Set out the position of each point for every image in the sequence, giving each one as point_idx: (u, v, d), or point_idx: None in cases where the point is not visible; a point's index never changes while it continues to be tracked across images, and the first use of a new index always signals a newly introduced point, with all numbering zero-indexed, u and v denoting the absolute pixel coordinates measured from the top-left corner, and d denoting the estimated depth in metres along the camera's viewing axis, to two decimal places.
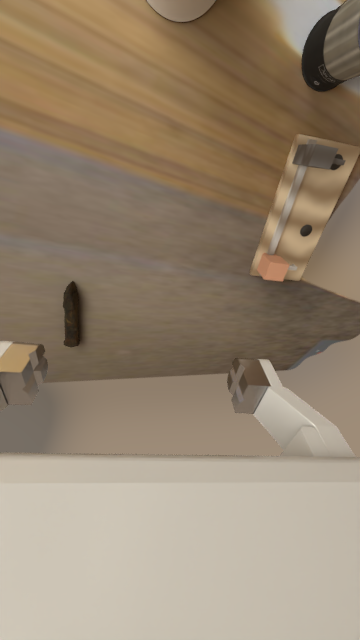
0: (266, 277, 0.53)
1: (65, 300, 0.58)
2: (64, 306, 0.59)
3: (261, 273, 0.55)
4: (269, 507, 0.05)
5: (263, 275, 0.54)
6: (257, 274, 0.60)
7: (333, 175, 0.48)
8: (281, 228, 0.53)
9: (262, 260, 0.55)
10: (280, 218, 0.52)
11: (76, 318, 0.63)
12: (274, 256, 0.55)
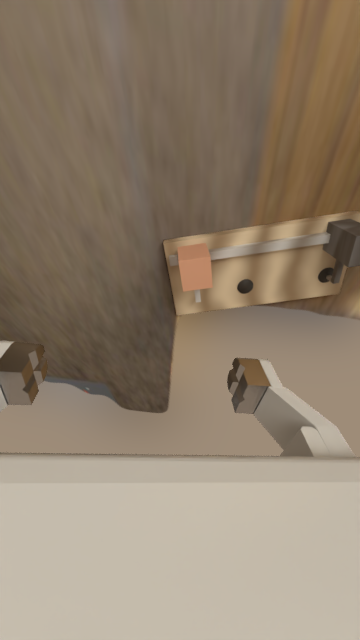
0: (182, 263, 0.30)
1: None
2: None
3: (181, 254, 0.32)
4: (269, 507, 0.05)
5: (182, 257, 0.31)
6: (167, 253, 0.36)
7: (311, 281, 0.40)
8: (247, 251, 0.35)
9: (198, 246, 0.33)
10: (259, 243, 0.35)
11: None
12: None
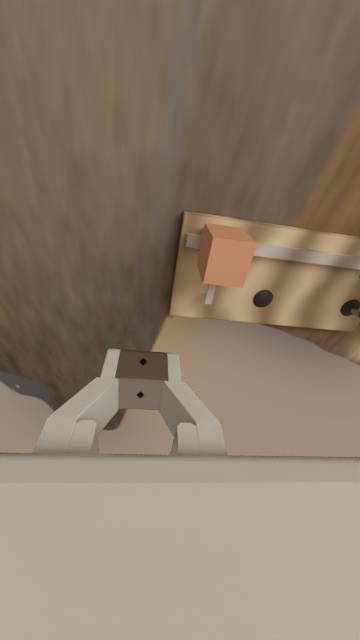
0: (218, 242, 0.21)
1: None
2: None
3: (213, 231, 0.23)
4: (269, 507, 0.05)
5: (217, 235, 0.21)
6: (185, 229, 0.26)
7: (333, 310, 0.34)
8: (284, 255, 0.28)
9: (234, 229, 0.24)
10: (299, 249, 0.28)
11: None
12: None
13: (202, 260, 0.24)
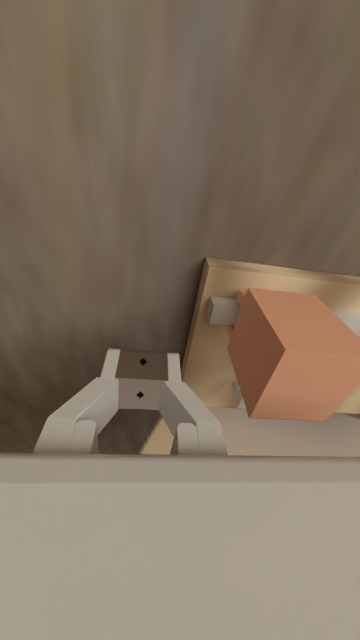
0: (294, 358, 0.09)
1: None
2: None
3: (275, 318, 0.11)
4: (269, 507, 0.05)
5: (288, 336, 0.10)
6: (209, 291, 0.15)
7: None
8: None
9: (306, 303, 0.13)
10: None
11: None
12: None
13: (244, 362, 0.13)
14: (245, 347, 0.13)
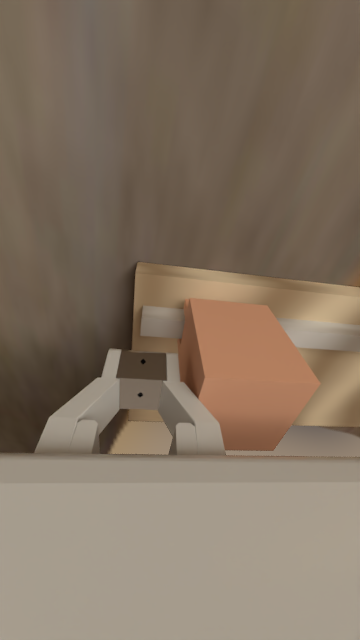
0: (217, 386, 0.08)
1: None
2: None
3: (207, 335, 0.09)
4: (269, 507, 0.05)
5: (215, 358, 0.08)
6: (140, 299, 0.13)
7: None
8: (333, 343, 0.14)
9: (252, 315, 0.11)
10: None
11: None
12: None
13: None
14: (185, 366, 0.11)
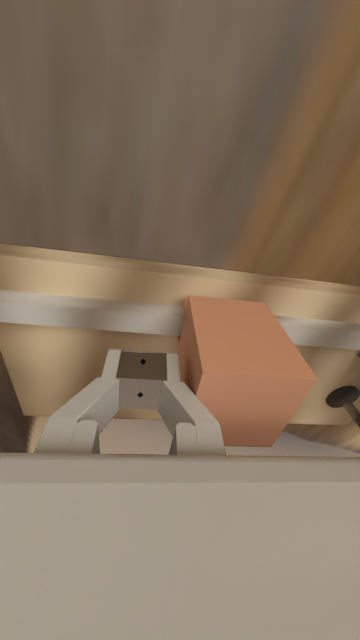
0: (215, 381, 0.08)
1: None
2: None
3: (206, 332, 0.09)
4: (269, 507, 0.05)
5: (213, 354, 0.08)
6: None
7: (313, 401, 0.20)
8: None
9: (251, 312, 0.11)
10: None
11: None
12: None
13: (182, 379, 0.11)
14: (183, 362, 0.11)
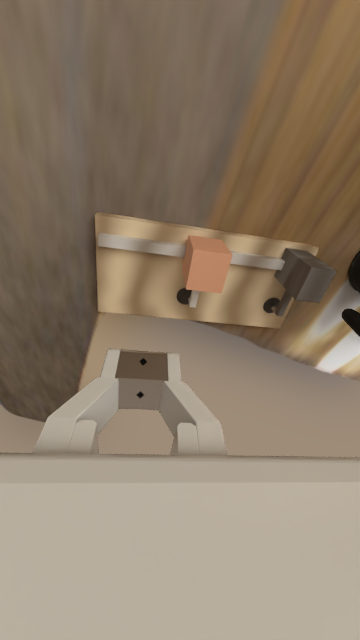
0: (197, 253, 0.24)
1: None
2: None
3: (195, 243, 0.25)
4: (269, 507, 0.05)
5: (197, 247, 0.24)
6: (98, 229, 0.28)
7: (256, 308, 0.36)
8: None
9: (214, 241, 0.27)
10: None
11: None
12: None
13: (186, 268, 0.27)
14: (186, 262, 0.27)
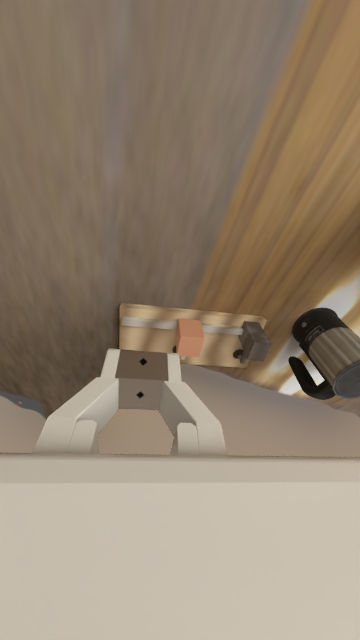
0: (183, 338, 0.40)
1: None
2: None
3: (182, 328, 0.41)
4: (269, 507, 0.05)
5: (183, 332, 0.40)
6: (121, 314, 0.44)
7: (228, 355, 0.52)
8: None
9: (194, 323, 0.43)
10: None
11: None
12: None
13: (177, 340, 0.43)
14: (177, 336, 0.43)
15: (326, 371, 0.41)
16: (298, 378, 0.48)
